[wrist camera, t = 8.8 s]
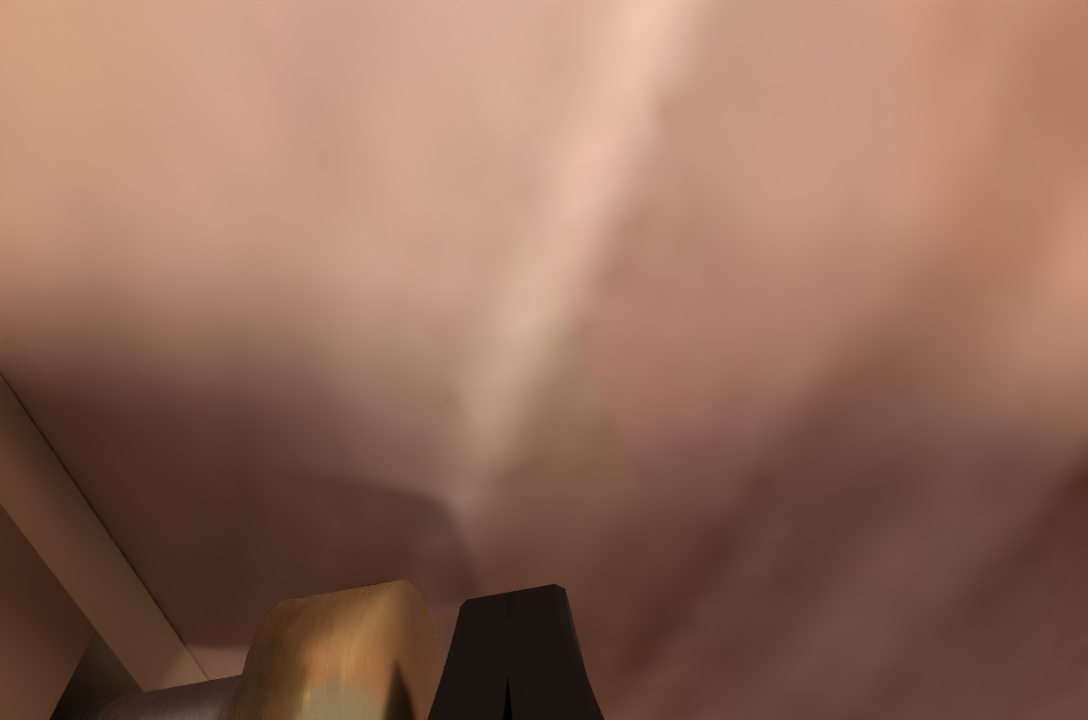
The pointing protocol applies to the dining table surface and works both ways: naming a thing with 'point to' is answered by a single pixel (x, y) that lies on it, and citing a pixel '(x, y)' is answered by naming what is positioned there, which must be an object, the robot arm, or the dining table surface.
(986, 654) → the dining table surface
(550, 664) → the robot arm
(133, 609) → the wooden board with knobs
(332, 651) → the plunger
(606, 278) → the dining table surface
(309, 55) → the dining table surface
